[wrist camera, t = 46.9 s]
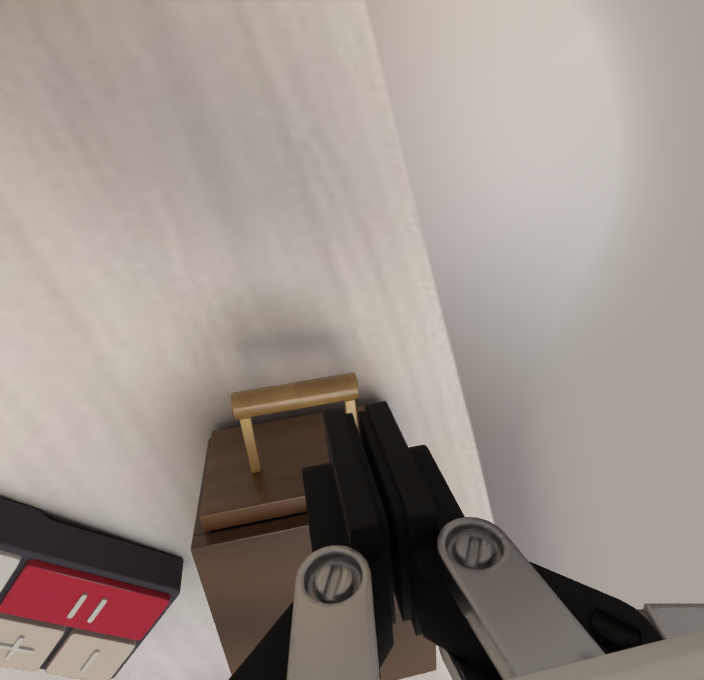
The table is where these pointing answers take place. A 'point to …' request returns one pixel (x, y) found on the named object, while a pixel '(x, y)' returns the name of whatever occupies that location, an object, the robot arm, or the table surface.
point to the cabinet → (275, 588)
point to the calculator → (76, 595)
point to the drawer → (270, 452)
